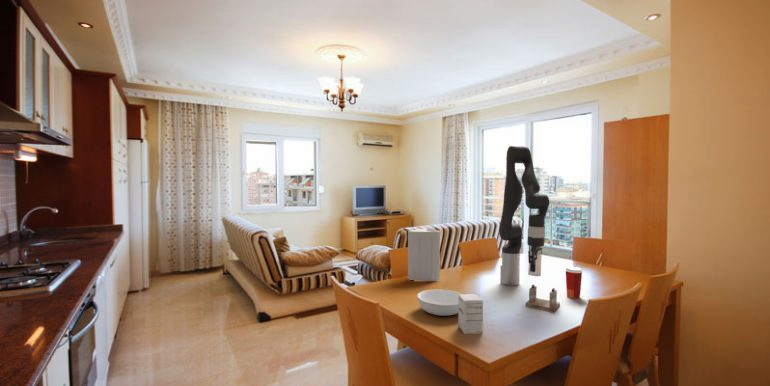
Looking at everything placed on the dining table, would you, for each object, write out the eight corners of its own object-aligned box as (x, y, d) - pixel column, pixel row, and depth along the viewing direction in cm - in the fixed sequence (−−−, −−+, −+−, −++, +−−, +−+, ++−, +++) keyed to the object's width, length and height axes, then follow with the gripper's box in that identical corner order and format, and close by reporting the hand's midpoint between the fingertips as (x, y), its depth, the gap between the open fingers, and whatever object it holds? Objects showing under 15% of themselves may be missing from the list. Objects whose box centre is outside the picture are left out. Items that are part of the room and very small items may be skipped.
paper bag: (429, 284, 198) (429, 233, 197) (407, 279, 207) (407, 231, 207) (447, 277, 212) (447, 229, 212) (426, 273, 222) (426, 227, 221)
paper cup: (581, 295, 179) (582, 267, 179) (582, 300, 172) (583, 270, 172) (564, 293, 182) (564, 265, 182) (564, 298, 175) (564, 269, 175)
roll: (526, 274, 175) (527, 253, 175) (530, 272, 180) (531, 251, 179) (538, 277, 172) (539, 255, 171) (542, 274, 176) (543, 253, 175)
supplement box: (457, 326, 141) (458, 294, 141) (476, 325, 142) (476, 293, 141) (463, 334, 134) (463, 300, 133) (483, 333, 134) (483, 299, 134)
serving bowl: (435, 325, 142) (436, 307, 142) (408, 308, 161) (408, 293, 161) (476, 316, 152) (477, 299, 152) (446, 301, 171) (446, 286, 170)
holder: (525, 306, 164) (525, 286, 164) (532, 300, 172) (532, 282, 172) (554, 312, 157) (554, 292, 156) (559, 305, 164) (560, 286, 164)
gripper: (532, 232, 183) (531, 266, 184) (523, 236, 171) (521, 272, 172) (548, 234, 178) (547, 268, 179) (539, 238, 167) (538, 275, 168)
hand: (534, 270), depth 176 cm, fingers closed on roll, 5 cm apart
